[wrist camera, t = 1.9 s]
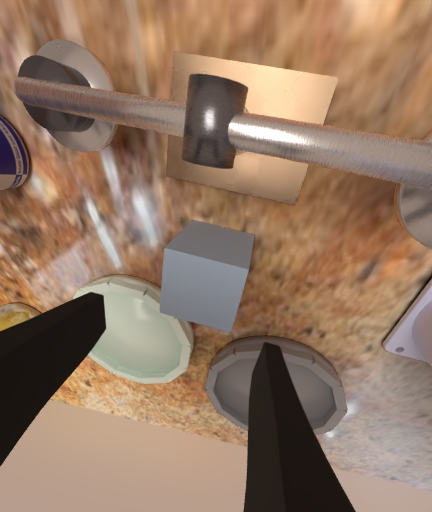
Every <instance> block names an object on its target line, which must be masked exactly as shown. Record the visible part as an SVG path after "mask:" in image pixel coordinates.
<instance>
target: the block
mask: <svg viewBox="0 0 432 512" xmlns="http://www.w3.org/2000/svg"><path fill="white" fill-rule="evenodd" d="M254 236H255V235H254V234H250V233H246V232H242V231H237V230H233V229H229V228H225V227H221V226H217V225H213V224H209V223H204V222H200V221H196V220H192V221H191V222H190V223H189V224H188V225H187V226H186V227H185V228H184V229H183V230H182V231H181V232H180V233H178V234H177V235H176V236H175V237H174V238H173V239H172V240H171V241H170V242H169V243H168V244H167V245H166V246H165V247H164V256H163V270H162V284H161V299H160V313H163V314H166V315H169V316H173V317H176V318H180V319H183V320H187V321H190V322H193V323H197V324H200V325H204V326H207V327H211V328H214V329H217V330H221V331H224V332H228V333H231V331H232V328H233V324H234V321H235V317H236V314H237V310H238V307H239V303H240V300H241V296H242V293H243V289H244V286H245V282H246V279H247V275H248V272H249V267H250V261H251V255H252V248H253V242H254Z"/></svg>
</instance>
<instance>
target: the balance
mask: <svg viewBox="0 0 432 512" xmlns="http://www.w3.org/2000/svg"><path fill="white" fill-rule="evenodd" d="M338 79H339V78H338V77H332V76H325V75H319V74H313V73H306V72H300V71H294V70H288V69H281V68H275V67H269V66H263V65H256V64H250V63H244V62H238V61H231V60H225V59H219V58H212V57H206V56H200V55H194V54H187V53H181V52H175V51H174V59H173V74H172V90H171V100H165V99H159V98H153V97H147V96H140V95H134V94H128V93H122V92H117V88H116V86H115V83H114V81H113V79H112V77H111V75H110V73H109V71H108V70H107V68H106V67H105V65H104V64H103V63H102V62H101V60H100V59H99V58H98V57H97V56H96V55H94V54H93V53H92V52H91V51H89V50H87V49H86V48H84V47H82V46H80V45H78V44H76V43H74V42H71V41H68V40H61V39H58V40H52V41H50V42H48V43H46V44H44V45H43V46H42V47H41V48H40V49H39V50H38V52H37V53H36V55H34V56H30V57H28V58H27V59H26V60H24V62H23V63H22V65H21V67H20V70H19V74H18V78H16V79H15V80H14V82H13V90H14V93H15V94H16V96H17V97H18V98H19V99H20V100H21V101H22V102H23V104H24V106H25V108H26V110H27V111H28V113H29V114H30V116H31V117H32V118H33V119H34V120H35V121H36V122H37V123H38V124H39V125H41V126H42V127H44V128H46V129H47V130H48V132H49V133H50V134H51V135H52V136H53V137H54V138H55V139H56V140H57V141H58V142H59V143H61V144H62V145H64V146H65V147H67V148H69V149H71V150H74V151H78V152H95V151H99V150H102V149H104V148H105V147H107V146H108V145H109V144H110V143H111V142H112V141H113V139H114V137H115V136H116V133H117V131H118V128H119V124H121V125H126V126H131V127H136V128H140V129H145V130H150V131H154V132H159V133H164V134H169V137H168V153H167V168H166V176H167V177H171V178H175V179H180V180H184V181H189V182H193V183H198V184H202V185H207V186H211V187H216V188H220V189H225V190H229V191H234V192H238V193H243V194H247V195H252V196H256V197H261V198H265V199H270V200H274V201H279V202H283V203H288V204H292V205H295V204H296V201H297V198H298V195H299V192H300V189H301V186H302V183H303V180H304V178H305V175H306V172H307V169H308V166H309V164H310V165H315V166H319V167H324V168H329V169H334V170H338V171H343V172H348V173H352V174H357V175H362V176H367V177H371V178H376V179H381V180H385V181H390V182H395V183H396V185H395V191H394V207H395V213H396V216H397V219H398V221H399V223H400V224H401V226H402V227H403V229H404V230H405V231H406V232H407V233H408V234H409V235H410V236H411V237H412V238H414V239H415V240H417V241H418V242H420V243H421V244H423V245H425V246H426V247H428V248H430V249H432V129H431V130H429V131H428V132H427V133H426V134H425V136H424V137H423V138H422V139H421V140H415V139H409V138H403V137H397V136H390V135H384V134H378V133H372V132H365V131H359V130H353V129H347V128H340V127H334V126H328V125H323V122H324V120H325V117H326V114H327V111H328V108H329V105H330V102H331V99H332V96H333V93H334V90H335V88H336V85H337V82H338Z"/></svg>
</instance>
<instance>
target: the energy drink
mask: <svg viewBox="0 0 432 512" xmlns="http://www.w3.org/2000/svg"><path fill="white" fill-rule="evenodd" d="M28 172H29V157H28V153H27V150H26V148H25V145H24V143H23V141H22V139H21V138H20V136H19V134H18V133H17V132H16V130H15V129H14V128H13V127H12V126H11V125H10V124H9V123H8V122H7V121H6V120H5V119H3V118H2V117H1V116H0V190H6V189H12V188H16V187H19V186H20V185H21V184H23V183H24V181H25V180H26V178H27V175H28Z"/></svg>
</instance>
